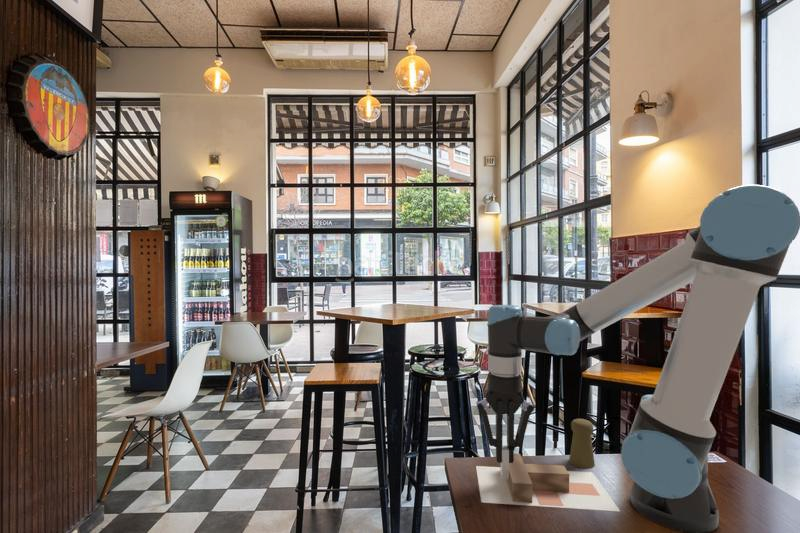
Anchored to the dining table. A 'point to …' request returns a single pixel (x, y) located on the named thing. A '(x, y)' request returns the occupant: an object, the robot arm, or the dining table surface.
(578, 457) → the olive pepper mill
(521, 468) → the t block
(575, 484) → the mat
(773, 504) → the dining table surface
